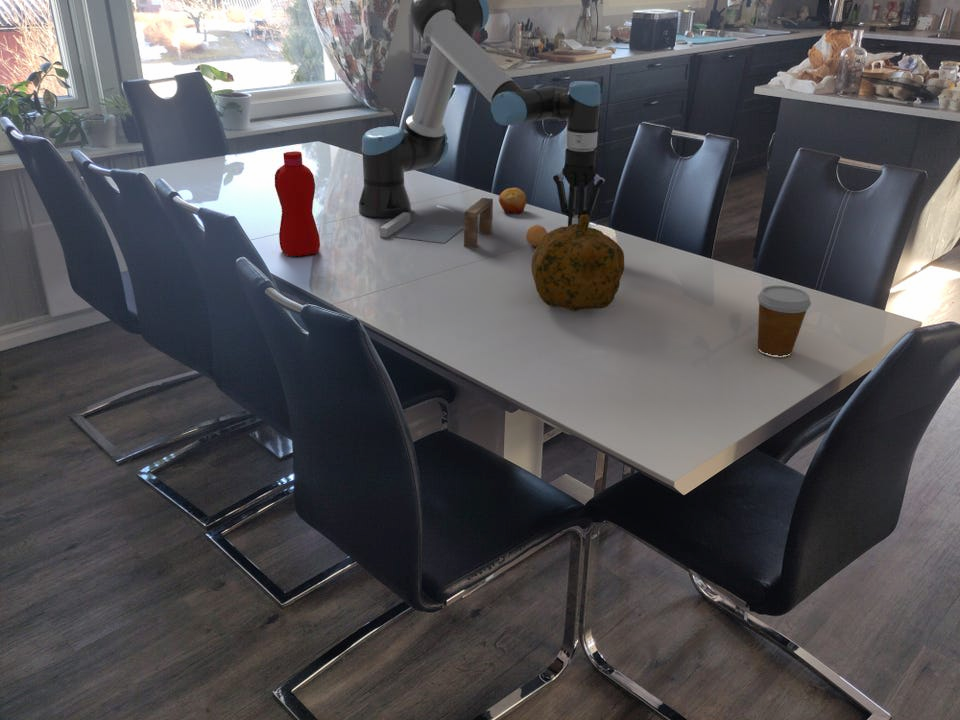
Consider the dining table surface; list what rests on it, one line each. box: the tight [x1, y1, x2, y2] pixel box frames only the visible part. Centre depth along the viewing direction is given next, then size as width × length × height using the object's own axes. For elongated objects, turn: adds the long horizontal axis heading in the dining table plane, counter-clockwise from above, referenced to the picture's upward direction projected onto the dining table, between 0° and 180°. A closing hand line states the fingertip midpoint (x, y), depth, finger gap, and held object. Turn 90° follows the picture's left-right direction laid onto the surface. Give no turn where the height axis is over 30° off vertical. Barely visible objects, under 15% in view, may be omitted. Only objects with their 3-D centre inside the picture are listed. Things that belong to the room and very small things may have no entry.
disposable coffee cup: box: [757, 285, 812, 356], centre depth 158 cm, size 10×10×12 cm
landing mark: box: [395, 222, 464, 244], centre depth 225 cm, size 14×14×1 cm
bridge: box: [463, 197, 494, 248], centre depth 219 cm, size 3×14×9 cm, turn 161°
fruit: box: [498, 187, 527, 214], centre depth 244 cm, size 8×8×8 cm
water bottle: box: [274, 150, 321, 257], centre depth 204 cm, size 9×11×25 cm
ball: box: [525, 224, 548, 247], centre depth 216 cm, size 6×6×6 cm
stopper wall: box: [379, 212, 411, 238], centre depth 227 cm, size 2×16×2 cm, turn 161°
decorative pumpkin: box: [530, 215, 625, 312], centre depth 178 cm, size 20×21×20 cm
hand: (574, 241), depth 213 cm, fingers closed
